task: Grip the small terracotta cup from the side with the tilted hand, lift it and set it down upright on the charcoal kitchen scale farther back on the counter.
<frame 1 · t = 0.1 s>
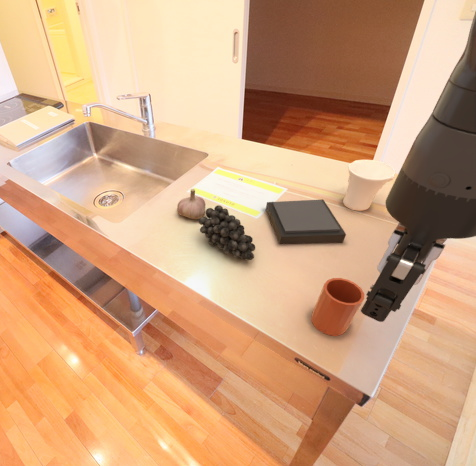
hand: (384, 292, 37), 19 cm above the counter, tool pointing down, fingers open, 8 cm apart
cup: (357, 204, 78), on the counter
garlic bulb: (191, 214, 83), on the counter
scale: (301, 224, 75), on the counter
fruit: (226, 248, 72), on the counter
terracotta cup: (328, 322, 55), on the counter
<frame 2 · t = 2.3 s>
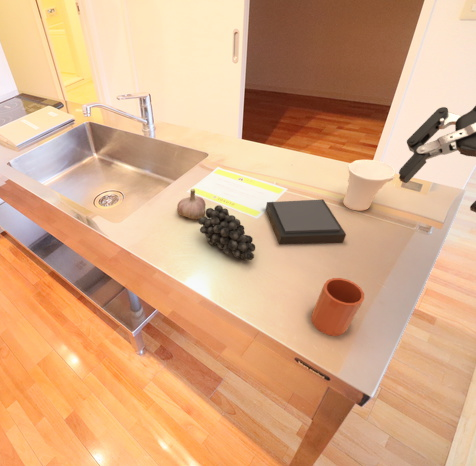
hand: (435, 194, 43), 23 cm above the counter, tool tilted 45°, fingers open, 8 cm apart
nothing on the counter moved.
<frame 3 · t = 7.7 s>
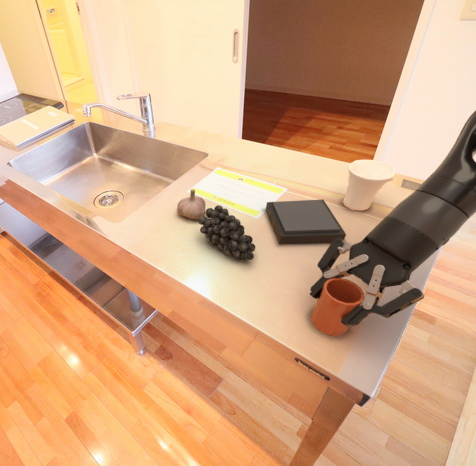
hand: (328, 309, 52), 5 cm above the counter, tool tilted 45°, fingers closed on terracotta cup, 5 cm apart
terracotta cup: (328, 322, 55), on the counter, touching gripper
everything else where it was.
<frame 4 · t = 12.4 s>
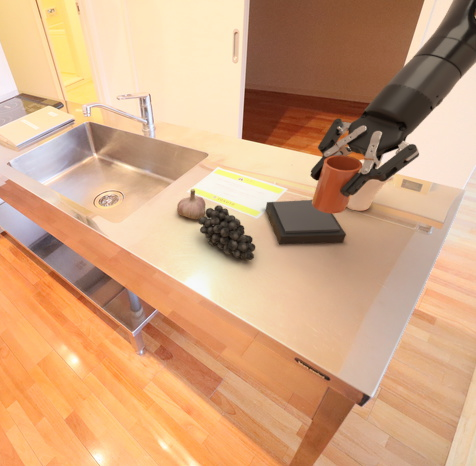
hand: (328, 185, 55), 18 cm above the counter, tool tilted 45°, fingers closed on terracotta cup, 5 cm apart
terracotta cup: (328, 204, 58), point 14 cm above the counter, touching gripper
everything else where it was.
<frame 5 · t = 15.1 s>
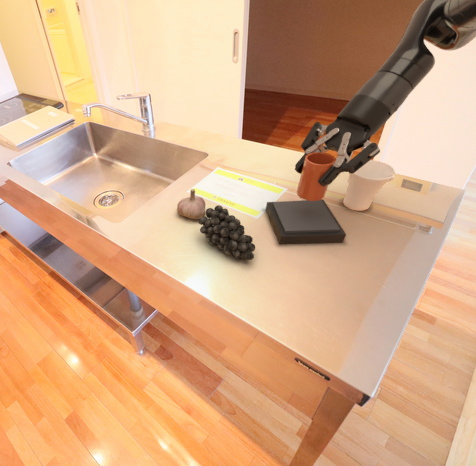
hand: (309, 177, 66), 13 cm above the counter, tool tilted 45°, fingers closed on terracotta cup, 5 cm apart
terracotta cup: (310, 193, 69), point 9 cm above the counter, touching gripper
everything else where it was.
when the fingers open (8 cm above the counter, at t = 17.2 s): terracotta cup stays where it is, resting on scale.
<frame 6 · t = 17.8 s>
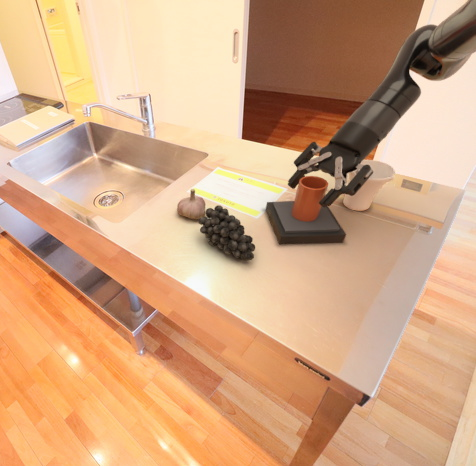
hand: (305, 195, 69), 9 cm above the counter, tool tilted 45°, fingers open, 8 cm apart
terracotta cup: (304, 214, 73), point 3 cm above the counter, touching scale
everything else where it was.
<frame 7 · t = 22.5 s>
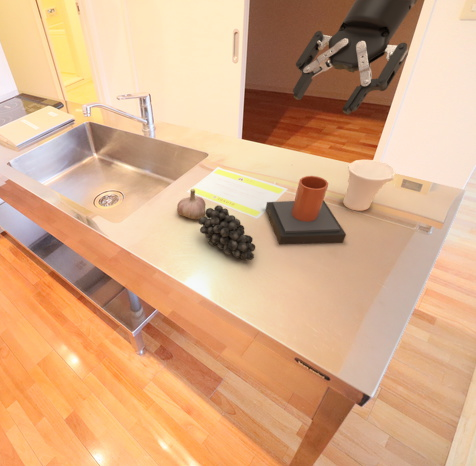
hand: (319, 104, 53), 30 cm above the counter, tool tilted 35°, fingers open, 8 cm apart
nothing on the counter moved.
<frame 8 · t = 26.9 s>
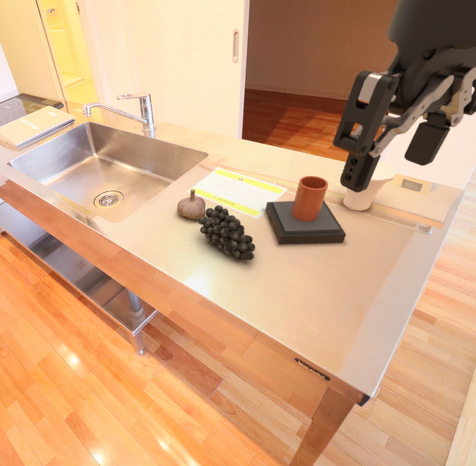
hand: (385, 174, 31), 33 cm above the counter, tool pointing down, fingers open, 8 cm apart
nothing on the counter moved.
at the end: terracotta cup inside the target area on the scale (0.1 cm from its centre), point 3.1 cm above the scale's base; terracotta cup tilted 0°; the gripper is holding nothing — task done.
